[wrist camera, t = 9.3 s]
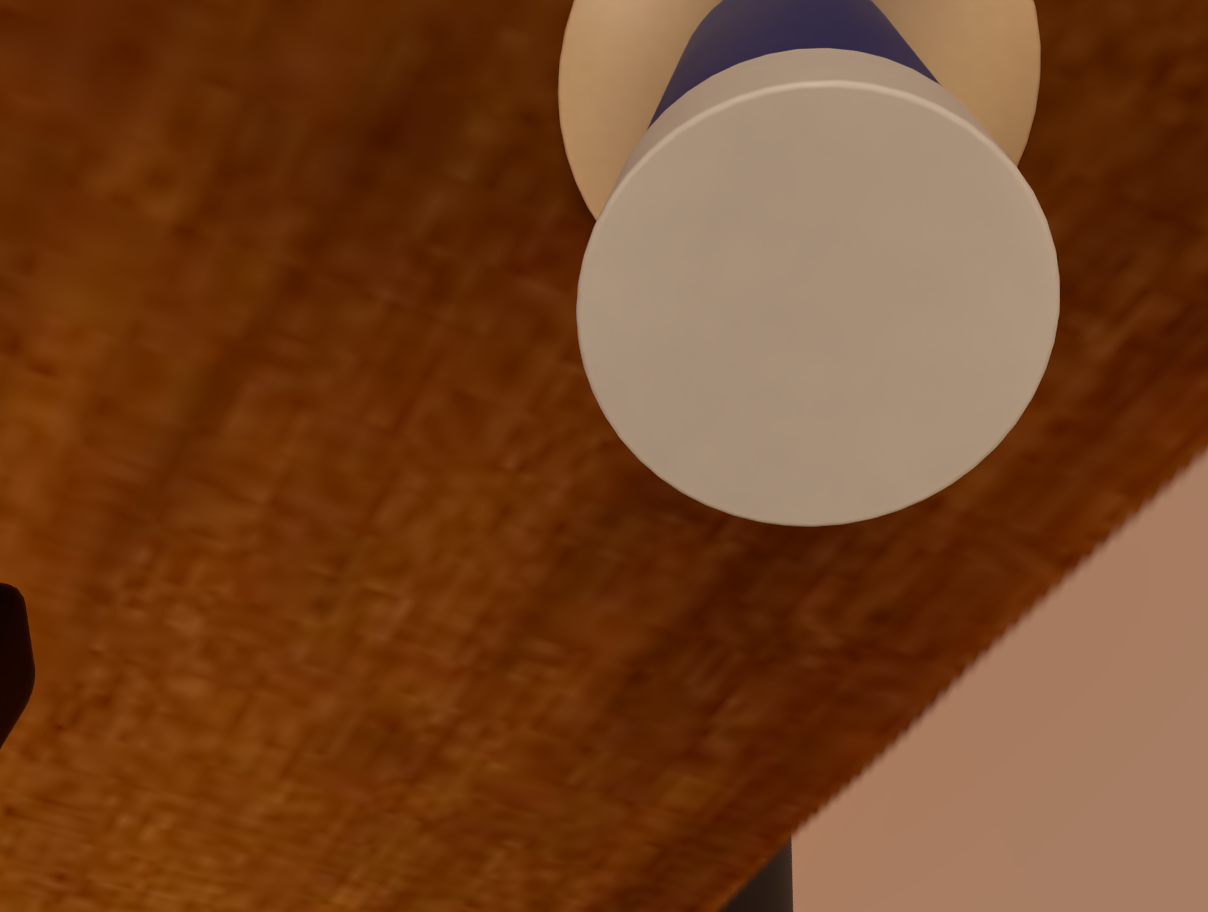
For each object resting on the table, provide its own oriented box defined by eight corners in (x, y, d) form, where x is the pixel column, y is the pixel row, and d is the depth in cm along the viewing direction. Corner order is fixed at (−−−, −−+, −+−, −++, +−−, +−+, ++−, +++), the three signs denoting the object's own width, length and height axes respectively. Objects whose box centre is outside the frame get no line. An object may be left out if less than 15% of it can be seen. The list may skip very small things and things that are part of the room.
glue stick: (874, 234, 16) (972, 565, 9) (653, 194, 17) (549, 483, 9) (942, -9, 15) (1142, 130, 7) (693, -51, 15) (611, 39, 7)
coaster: (1107, -128, 14) (1120, -128, 14) (948, 345, 18) (954, 359, 17) (596, -210, 15) (591, -213, 14) (540, 269, 18) (533, 281, 17)
